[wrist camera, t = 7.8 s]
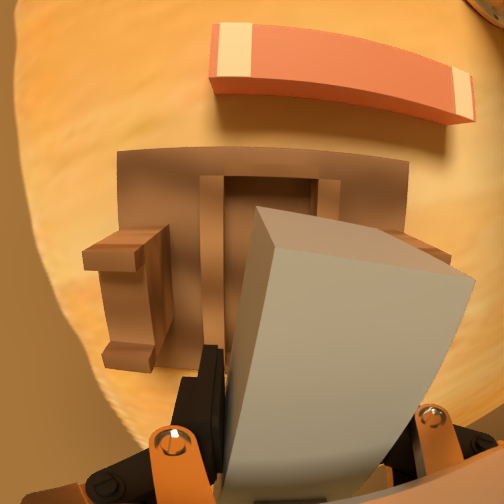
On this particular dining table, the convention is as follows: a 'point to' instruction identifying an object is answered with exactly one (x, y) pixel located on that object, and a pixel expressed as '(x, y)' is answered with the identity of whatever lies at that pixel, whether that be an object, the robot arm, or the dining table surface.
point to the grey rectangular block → (329, 356)
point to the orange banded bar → (337, 71)
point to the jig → (218, 237)
